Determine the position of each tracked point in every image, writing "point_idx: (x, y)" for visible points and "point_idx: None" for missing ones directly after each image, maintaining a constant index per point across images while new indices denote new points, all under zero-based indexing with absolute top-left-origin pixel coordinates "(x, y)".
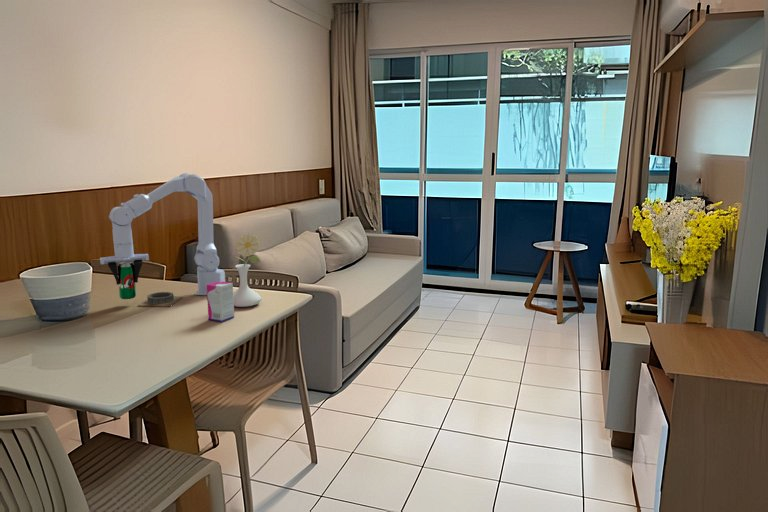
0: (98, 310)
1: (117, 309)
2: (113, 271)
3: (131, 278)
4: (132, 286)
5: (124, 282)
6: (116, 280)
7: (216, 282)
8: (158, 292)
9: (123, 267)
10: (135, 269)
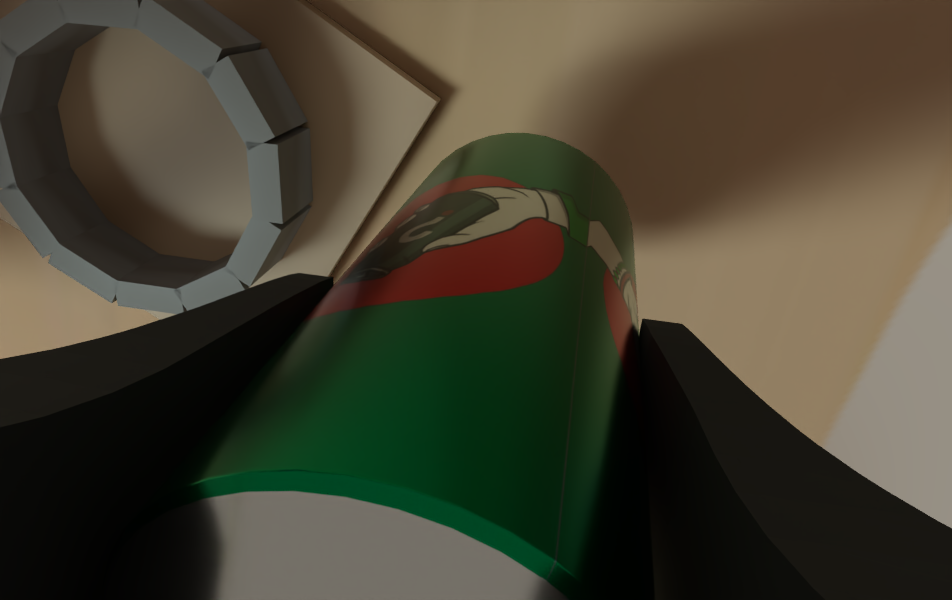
0: (900, 196)
1: (688, 105)
2: (877, 503)
3: (369, 268)
4: (415, 203)
5: (548, 240)
6: (710, 353)
7: None
8: (155, 305)
9: (484, 517)
10: (121, 387)
